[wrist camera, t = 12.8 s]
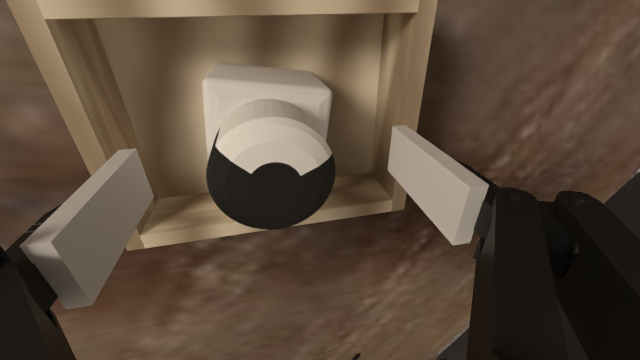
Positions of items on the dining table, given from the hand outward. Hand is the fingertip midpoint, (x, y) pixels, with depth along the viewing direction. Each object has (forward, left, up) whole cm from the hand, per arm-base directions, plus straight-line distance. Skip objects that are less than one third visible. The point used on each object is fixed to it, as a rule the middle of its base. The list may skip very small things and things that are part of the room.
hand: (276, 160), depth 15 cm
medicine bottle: (0, 0, -10) cm, 10 cm away
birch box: (0, 0, -10) cm, 10 cm away
